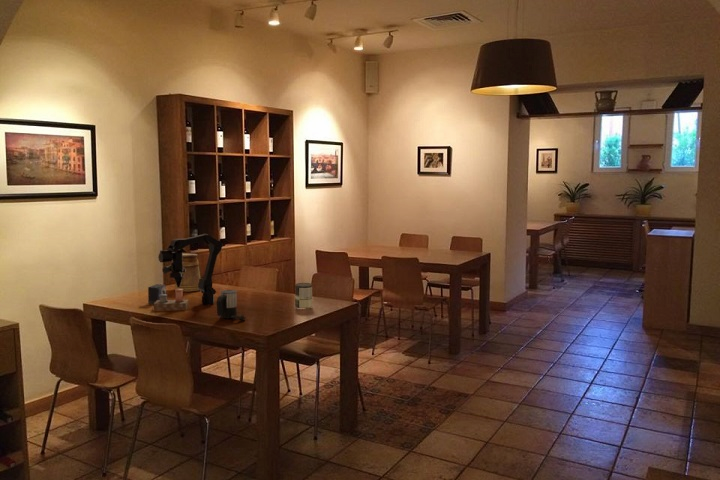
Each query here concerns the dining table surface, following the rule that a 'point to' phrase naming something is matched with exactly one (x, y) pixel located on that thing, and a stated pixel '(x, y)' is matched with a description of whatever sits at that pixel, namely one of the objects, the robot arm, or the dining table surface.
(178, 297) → the brick plug
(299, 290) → the coffee can
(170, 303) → the socket block
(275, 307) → the dining table surface
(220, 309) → the milk frother
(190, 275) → the tankard
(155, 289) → the small box
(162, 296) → the grey plug
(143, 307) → the dining table surface
